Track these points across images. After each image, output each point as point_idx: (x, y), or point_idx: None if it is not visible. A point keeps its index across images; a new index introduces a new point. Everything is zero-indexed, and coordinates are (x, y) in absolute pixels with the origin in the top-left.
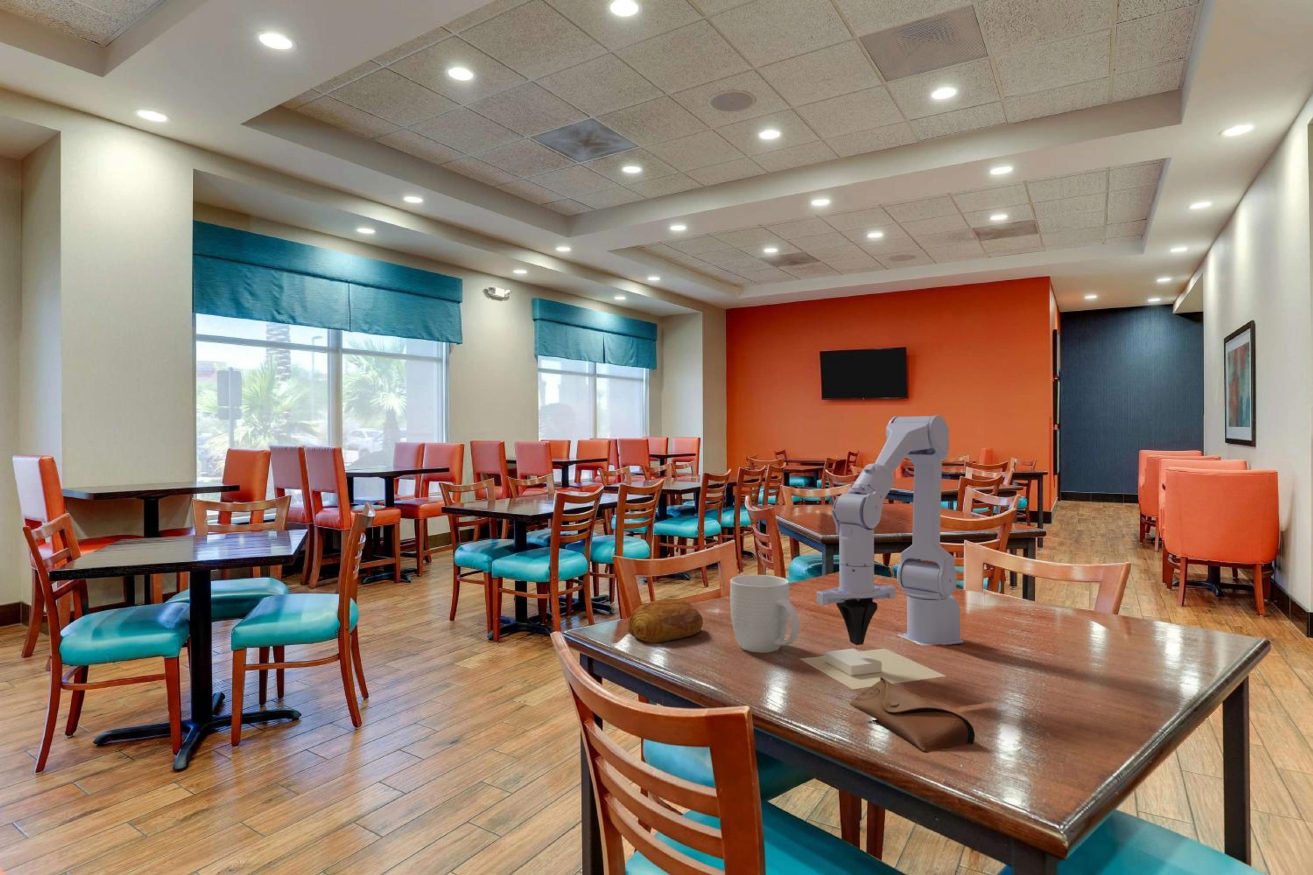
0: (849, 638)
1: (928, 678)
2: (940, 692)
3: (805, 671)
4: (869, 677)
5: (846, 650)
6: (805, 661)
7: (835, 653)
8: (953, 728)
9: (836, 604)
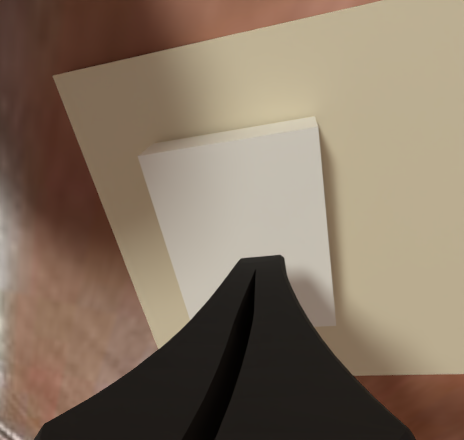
0: (233, 267)
1: (455, 373)
2: (417, 419)
3: (72, 190)
4: None
5: (262, 152)
6: (74, 121)
7: (186, 187)
8: None
9: (41, 431)
